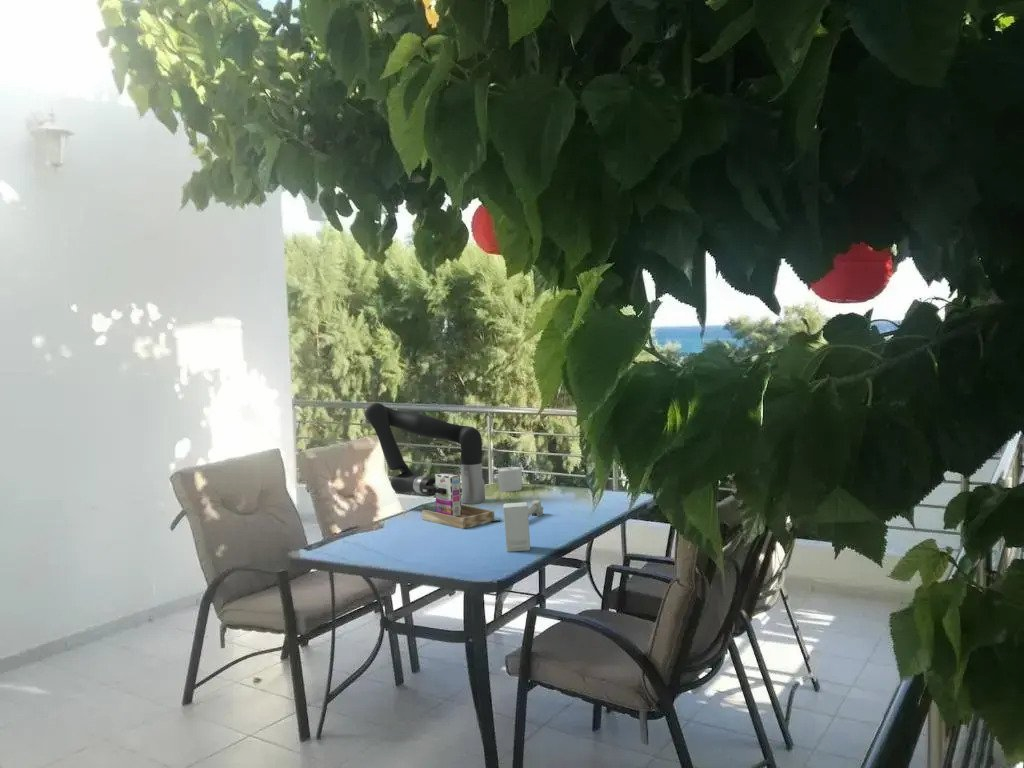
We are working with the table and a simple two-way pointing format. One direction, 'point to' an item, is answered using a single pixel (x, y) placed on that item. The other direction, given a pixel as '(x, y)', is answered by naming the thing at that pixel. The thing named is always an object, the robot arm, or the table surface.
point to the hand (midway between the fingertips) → (451, 490)
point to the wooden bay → (461, 517)
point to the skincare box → (516, 527)
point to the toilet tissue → (510, 479)
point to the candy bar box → (448, 494)
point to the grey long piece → (535, 508)
